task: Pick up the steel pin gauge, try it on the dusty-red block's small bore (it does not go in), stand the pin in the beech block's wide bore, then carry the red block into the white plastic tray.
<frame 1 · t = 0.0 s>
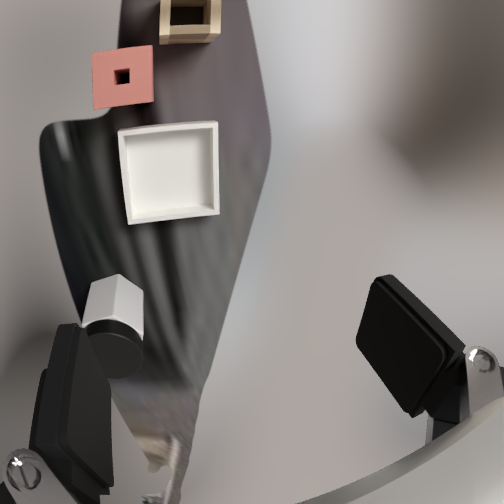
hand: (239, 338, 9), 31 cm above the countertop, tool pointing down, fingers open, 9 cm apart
beech block wide bore: (185, 20, 28), on the countertop
tray: (169, 168, 36), on the countertop
red block small bore: (127, 79, 30), on the countertop
jar: (116, 297, 43), on the countertop
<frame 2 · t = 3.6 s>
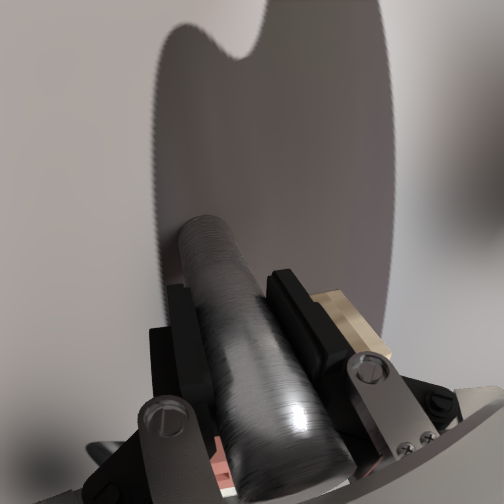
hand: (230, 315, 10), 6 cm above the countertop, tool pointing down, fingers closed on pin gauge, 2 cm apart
beech block wide bore: (291, 333, 20), on the countertop
red block small bore: (200, 411, 22), on the countertop
pin gauge: (204, 240, 15), on the countertop, touching gripper
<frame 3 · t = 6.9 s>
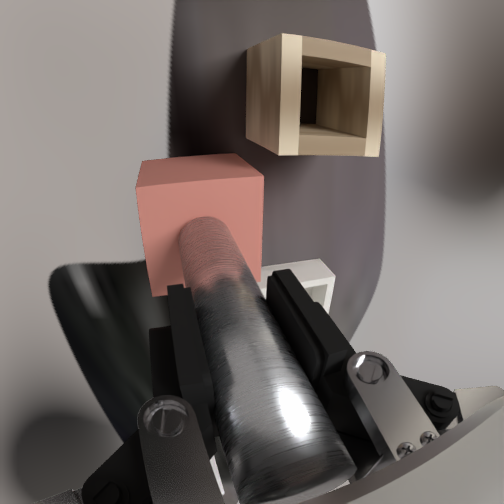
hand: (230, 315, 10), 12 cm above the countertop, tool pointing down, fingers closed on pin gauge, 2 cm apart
beech block wide bore: (290, 94, 19), on the countertop
tray: (253, 322, 27), on the countertop
red block small bore: (191, 200, 20), on the countertop
pin gauge: (204, 241, 15), point 6 cm above the countertop, touching gripper
when the fingers open (7 cm above the countertop, at t = 10.2 s): pin gauge drops 2 cm, resting in beech block wide bore.
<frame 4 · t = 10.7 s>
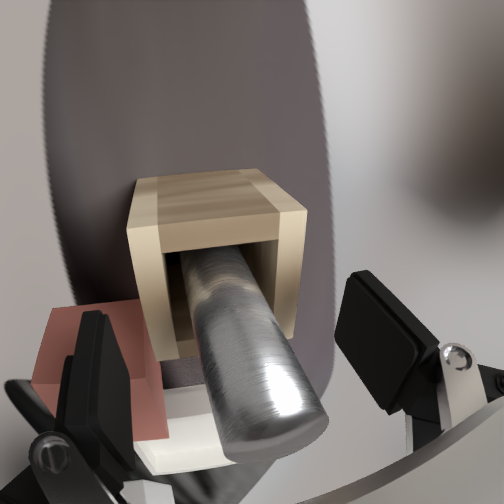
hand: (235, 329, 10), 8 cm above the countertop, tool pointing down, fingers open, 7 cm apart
beech block wide bore: (200, 227, 16), on the countertop
tray: (195, 421, 25), on the countertop
red block small bore: (108, 340, 18), on the countertop
jar: (141, 487, 31), on the countertop
pin gauge: (200, 228, 16), resting in beech block wide bore
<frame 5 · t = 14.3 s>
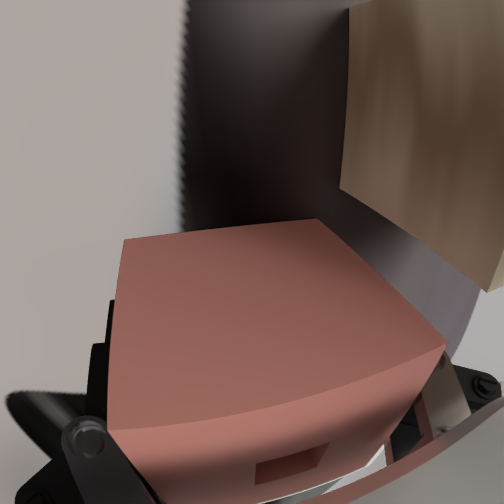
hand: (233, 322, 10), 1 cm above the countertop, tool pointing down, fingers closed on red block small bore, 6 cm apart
beech block wide bore: (415, 108, 9), on the countertop
red block small bore: (228, 307, 11), on the countertop, touching gripper
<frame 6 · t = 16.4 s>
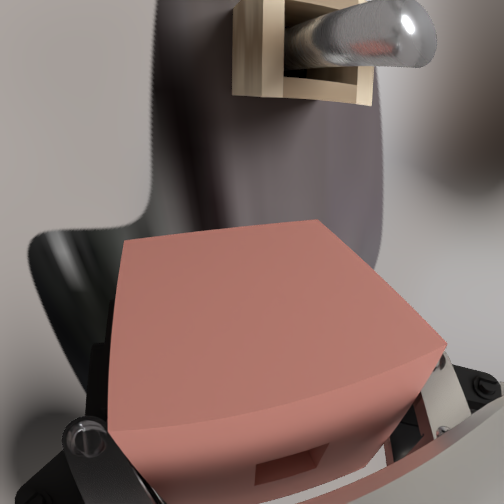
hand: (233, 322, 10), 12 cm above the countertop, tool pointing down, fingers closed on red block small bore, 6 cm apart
beech block wide bore: (278, 52, 17), on the countertop
red block small bore: (228, 308, 11), point 11 cm above the countertop, touching gripper
pin gauge: (278, 52, 17), resting in beech block wide bore
when the fingers open (3 cm above the countertop, at t = 18.7 s): red block small bore drops 2 cm, resting on tray.
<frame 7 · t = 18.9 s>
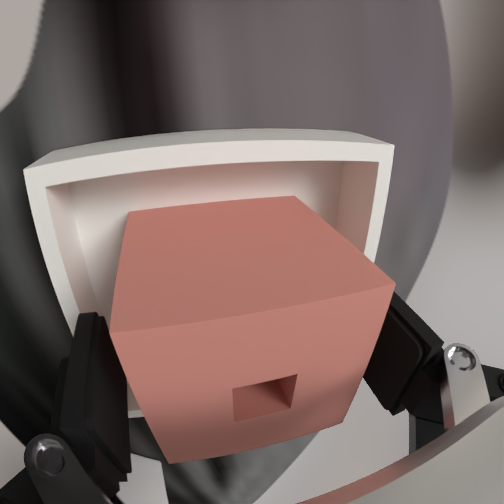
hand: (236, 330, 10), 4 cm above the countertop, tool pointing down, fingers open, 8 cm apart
tray: (214, 269, 13), on the countertop
red block small bore: (217, 274, 12), point 1 cm above the countertop, touching tray
jar: (112, 465, 19), on the countertop
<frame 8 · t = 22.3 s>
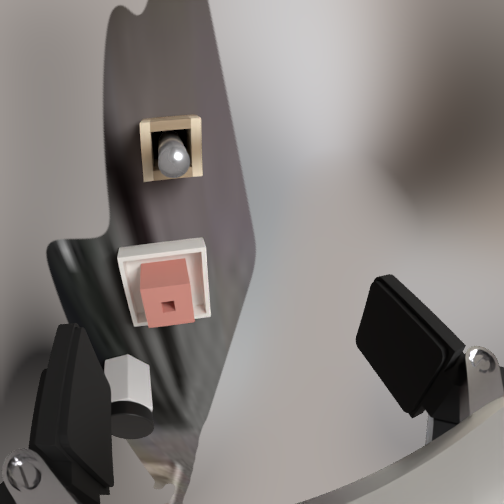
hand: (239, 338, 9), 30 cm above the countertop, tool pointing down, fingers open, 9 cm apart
beech block wide bore: (169, 141, 34), on the countertop
tray: (165, 278, 42), on the countertop
red block small bore: (165, 279, 42), point 1 cm above the countertop, touching tray
jar: (126, 369, 49), on the countertop
pin gauge: (169, 141, 34), resting in beech block wide bore
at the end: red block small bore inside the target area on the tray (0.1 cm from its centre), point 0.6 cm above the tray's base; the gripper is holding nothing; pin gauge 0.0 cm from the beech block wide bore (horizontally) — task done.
